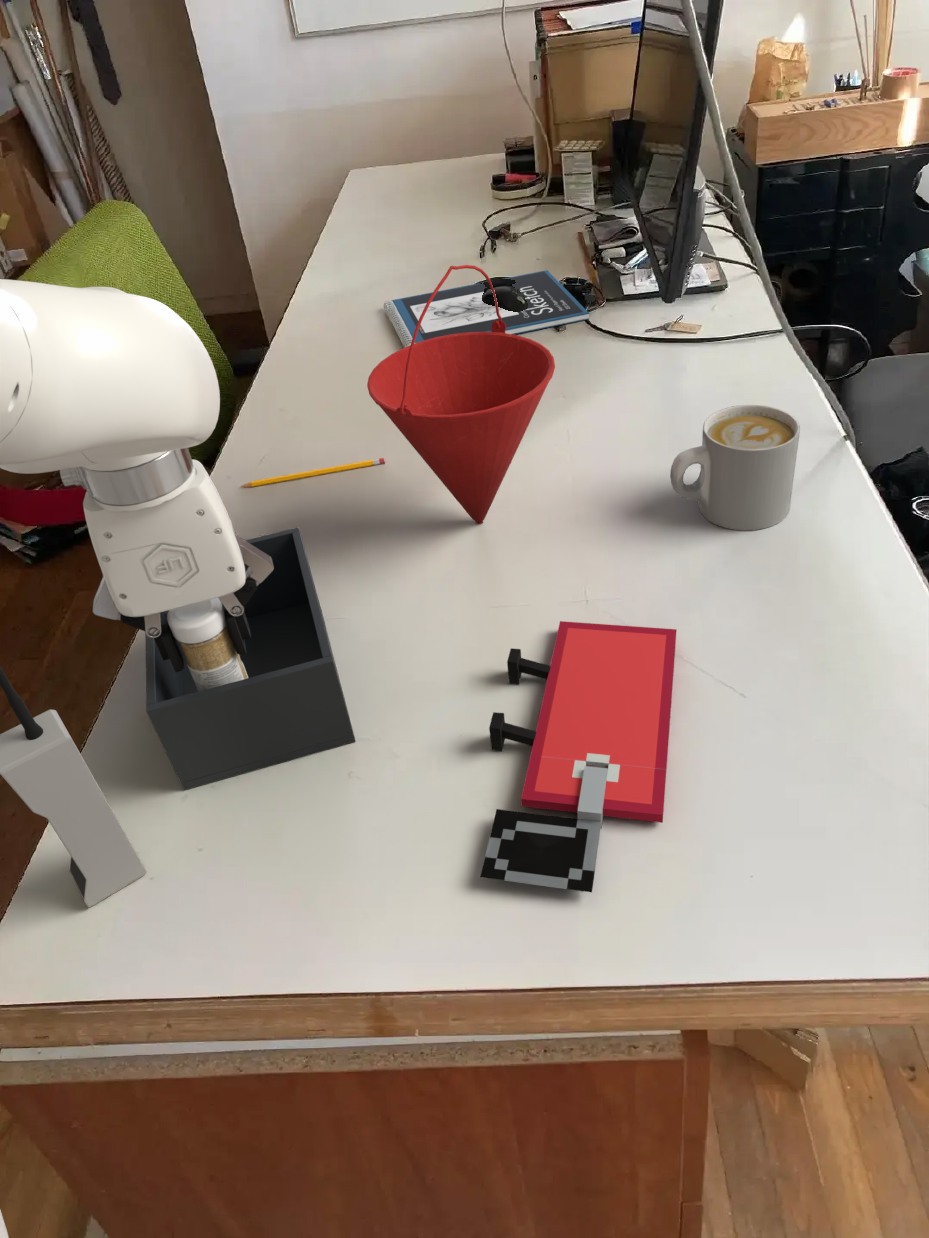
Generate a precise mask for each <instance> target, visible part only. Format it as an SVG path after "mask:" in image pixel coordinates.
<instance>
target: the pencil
mask: <svg viewBox="0 0 929 1238" xmlns="http://www.w3.org/2000/svg"><path fill="white" fill-rule="evenodd" d="M385 462H386V461H385V458H384V457H381V458H375V459H374V458H373V459H369V460H362V461H358V462H352V463H347V464H340V465H336V466H330V467H325V468H318V469H313V470H308V471H307V470H306V471H302V472H296V473H290V474H285V475H279V476H275V477H269V478H263V479H258V480H257V479H256V480H252V481H251V480H250V481H249V482H247V483H244V484H242V485H239V488H256V487H262V486H268V485H275V484H279V483H284V482H290V481H296V480H301V479H306V478H312V477H318V476H322V475H323V476H325V475H329V474H334V473H341V472H345V471H346V472H347V471H351V470H352V471H353V470H356V469H361V468H367V467H374V466H379V465H385Z"/></svg>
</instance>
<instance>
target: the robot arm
mask: <svg viewBox="0 0 929 1238" xmlns="http://www.w3.org/2000/svg"><path fill="white" fill-rule="evenodd" d="M220 393H221V391H220V385H219V380H218V375H217V371H216V369H215V367H214V363H213V361H212V358H211V357H210V354H209V352H208V350H207V348H206V347H205V345H204V343H203V342H202V340H201V339H200V337H199V336H198V334H197V333H196V332H195V331H194V329H193V328H192V327H191V326H190V324H189V323H188V322H186V321H185V320H184V319H183V318H182V317H181V316H180V315H179V314H178V313H177V312H175V311H173V309H171V308H170V307H169V306H168V305H165V304H164V303H162V302H160V301H158V300H156V299H153V298H151V297H147V296H143V295H138V294H133V293H127V292H125V291H123V290H122V289H119V288H116V287H111V286H88V287H87V286H86V287H75V286H74V287H73V286H67V285H58V284H50V283H44V282H38V281H37V282H36V281H27V280H20V279H19V280H18V279H8V278H6V279H5V278H0V469H1V470H4V471H8V472H11V473H15V474H16V473H17V474H25V475H27V474H29V475H31V474H44V473H52V472H56V471H59V474H60V478H61V479H60V480H61V482H62V483H63V484H62V485H64V487H65V488H67V487H73V486H76V487H80V486H81V487H82V489H83V490H86V492H85V495H84V497H83V501H82V506H83V507H82V508H83V512H84V517H85V522H86V525H87V530H88V534H89V538H90V540H91V544H92V547H93V550H94V554H95V556H96V559H97V562H98V564H99V565H98V566H99V567H100V571H101V574H102V579H101V581H100V583H99V585H98V589H97V590H96V593H95V596H94V598H93V601H92V613H93V614H94V615H95V616H97V617H101V618H105V619H110V620H113V621H117V620H118V621H120V622H121V623H122V624H123V625H126V626H129V627H131V628H134V629H138V630H140V631H142V632H146V635H147V636H148V637H151V638H154V640H155V642H156V645H157V647H158V649H159V651H160V654H161V656H162V658H163V660H168V659H170V661H171V663H172V665H173V668H174V670H175V672H179V671H182V669H184V658H183V652H182V649H181V647H180V644H179V643H178V641H177V640H176V638H175V637H174V636H173V634H172V631H171V629H170V626H169V624H168V621H167V614H166V613H165V614H163V613H161V612H164V611H168V610H172V609H176V608H180V607H184V606H188V605H192V604H196V603H200V602H203V601H207V600H211V599H215V598H218V599H219V600H220V601H221V603H222V604H223V605H224V610H225V620H226V624H227V627H228V629H229V632H230V635H231V638H232V640H233V643H234V646H235V649H236V651H237V654H240V655H243V654H246V646H245V639H248V638H251V633H250V628H249V625H248V622H247V619H246V616H245V613H244V607H245V605H246V604H247V602H248V601H249V599H250V598H251V597H252V595H253V594H254V592H255V591H256V589H257V586H258V585H259V584H260V583H262V582H263V581H264V580H265V579H266V578H267V577H268V575H269V574H270V573H271V572H272V571H273V570H274V566H273V561H272V558H271V557H270V556H269V555H267V554H266V553H264V552H263V551H261V550H259V549H258V548H256V547H255V546H253V545H251V544H250V543H248V542H247V541H245V540H246V539H243V538H242V537H240V536H239V535H237V533H236V530H235V528H234V525H233V522H232V520H231V517H230V516H229V513H228V511H227V508H226V506H225V504H224V501H223V499H222V498H221V495H220V493H219V491H218V489H217V487H216V485H215V484H214V482H213V480H212V478H211V477H210V474H209V472H208V471H207V470H206V468H205V467H204V465H203V464H202V463H201V462H200V461H199V460H197V459H192V455H191V453H190V450H189V448H192V447H196V446H199V445H201V444H203V443H204V442H206V441H207V440H208V439H209V438H210V437H211V436H212V434H213V432H214V430H215V429H216V426H217V423H218V421H219V415H220V410H221V409H220V408H221V396H220ZM244 564H246V565H248V566H249V567H248V570H247V571H245V566H244ZM230 568H231V570H230ZM8 1232H9V1231H8V1229H7V1226H6V1223H5V1220H4V1216H3V1213H2V1209H0V1238H9V1233H8Z"/></svg>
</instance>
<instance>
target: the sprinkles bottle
mask: <svg viewBox="0 0 929 1238" xmlns="http://www.w3.org/2000/svg"><path fill="white" fill-rule="evenodd" d="M167 621H168V624H169V626H170V629H171V631H172V634H173V636H174V637H175V638H176V640H177V641H178V643H179V644H180V647H181V649H182V652H183V653H184V656H185V659H186V663H187V665H188V668H189V670H190V673H191V675H192V677H193V680H194V682H195V684H196V687H197V689H198V692H199V691H202V690H206V689H210V688H214V687H217V686H221V685H225V684H228V683H232V682H236V681H240V680H243V679H247V678H248V675H247V673H246V670H245V667H244V665H243V662H242V661H241V659H240V656H239V654H237V651H236V649H235V646H234V643H233V640H232V638H231V635H230V632H229V629H228V627H227V624H226V620H225V610H224V607H223V605H222V603H221V601H220V600H219V599H218V598H215V599H211V600H207V601H203V602H200V603H196V604H192V605H188V606H184V607H180V608H176V609H172V610H169V612H168V615H167Z"/></svg>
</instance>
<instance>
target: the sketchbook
mask: <svg viewBox="0 0 929 1238" xmlns="http://www.w3.org/2000/svg"><path fill="white" fill-rule="evenodd" d="M503 279H511V280H515V282H516V283H515V284H512V286H513V287H515V289H519V291H520V292H521V295H524V297H525V300H526V301H527V303H528V308H527V309H525V310H523V311H520V312H513V311H508V310H505V309H503V308H500V307H498V308H499V314H500V316H501V318H502V322H504V323H505V325H506V332H505V333H507V334H513V335H519V334H523V333H527V332H528V333H529V332H533V331H538V330H542V329H548V328H553V327H559V326H563V325H569V324H572V323H577V322H583V321H588V320H590V312H589V311H588V310H587V309H586V308H585V307H584V306H583V305H582V304H581V303H580V302H579V301H578V300H577V299H576V298H575V297H574V296H573V295H572V294H571V293H570V292H569V290H568V289H566V288H565V286H564V285H562V284H561V282H559V280H557V278H556V277H555V276H554V275H553V274H551V272H550V271H549V270H548V269H546V270H541V271H535V272H529V273H525V274H520V275H514V276H509V277H505V278H503ZM484 282H485V281H484ZM484 282H478V283H474V284H473V283H472V284H467V285H463V286H457V287H453V288H452V287H451V288H447V289H443V290H438V291H437V293H436V295H435V296H434V298H433V300H432V301H431V303H430V305H429V307H428V309H427V311H426V313H425V315H424V317H423V319H422V322H421V325H420V327H419V330H418V333H417V336H416V339H415V343H418V342H421V341H424V340H428V339H431V338H435V337H440V336H445V335H450V334H458V333H467V332H491V330H492V324H493V322H494V321H497V320H499V318H498V317H497V314H496V307H495V306H492V305H488V304H486V303H484V302H483V301H482V295H483V293H484V289H485V288H487V287H485V285H484V284H483V283H484ZM480 283H482V284H480ZM433 292H434V291H432V292H431V291H430V292H427V293H422V294H417V295H412V296H406V297H402V298H396V299H389V300H388V299H387V300H385V301H384V303H383V309H384V310H385V313H386V314H387V316H388V319H389V320H390V322H391V325H392V326H393V328H394V330H395V332H396V334H397V336H398V338H399V340H400V342H401V344H402V346H403V348H405V347H407V346H410V345H411V342H412V338H413V335H414V332H415V329H416V326H417V324H418V321H419V318H420V316H421V314H422V312H423V310H424V308H425V306H426V303H427V302H428V300H429V298H430V297H431V295H432V293H433ZM500 328H501V327H500ZM415 343H414V344H415Z"/></svg>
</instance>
